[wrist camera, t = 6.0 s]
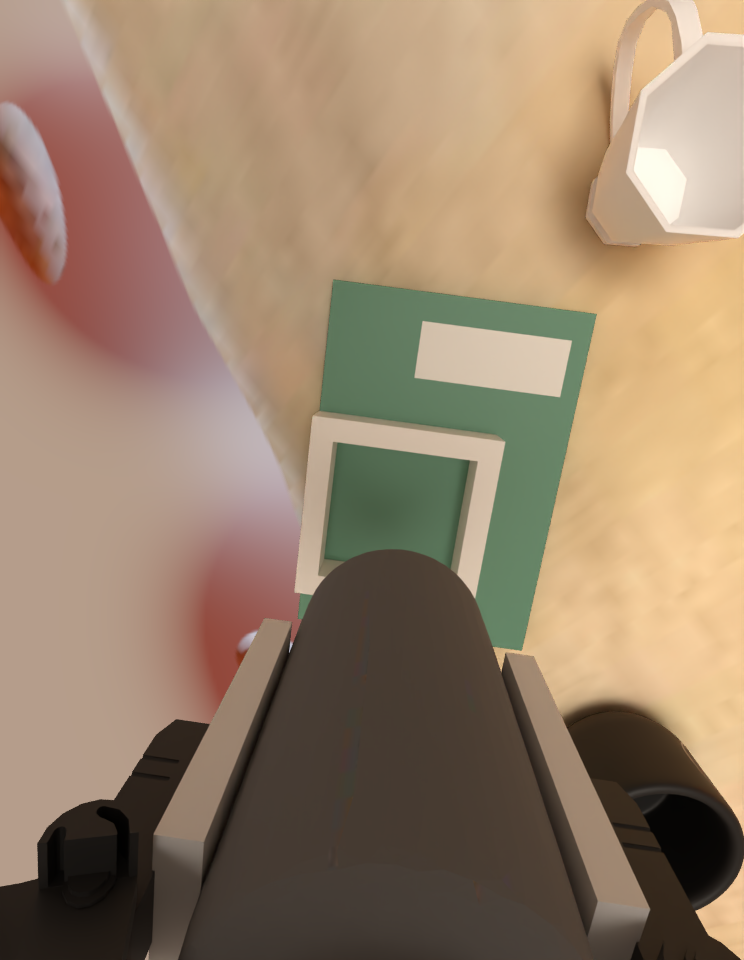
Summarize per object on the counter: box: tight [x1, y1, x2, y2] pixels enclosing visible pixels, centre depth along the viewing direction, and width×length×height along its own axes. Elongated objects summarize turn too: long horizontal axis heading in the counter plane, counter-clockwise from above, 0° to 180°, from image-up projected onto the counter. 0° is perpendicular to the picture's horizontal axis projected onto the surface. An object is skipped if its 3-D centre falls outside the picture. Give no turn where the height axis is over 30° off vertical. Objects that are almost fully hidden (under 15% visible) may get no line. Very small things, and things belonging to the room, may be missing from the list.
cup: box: [585, 0, 744, 247], centre depth 22 cm, size 7×10×8 cm
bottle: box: [178, 549, 594, 960], centre depth 10 cm, size 6×6×15 cm
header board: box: [295, 280, 597, 651], centre depth 29 cm, size 20×14×3 cm
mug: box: [567, 712, 744, 911], centre depth 31 cm, size 12×9×7 cm
